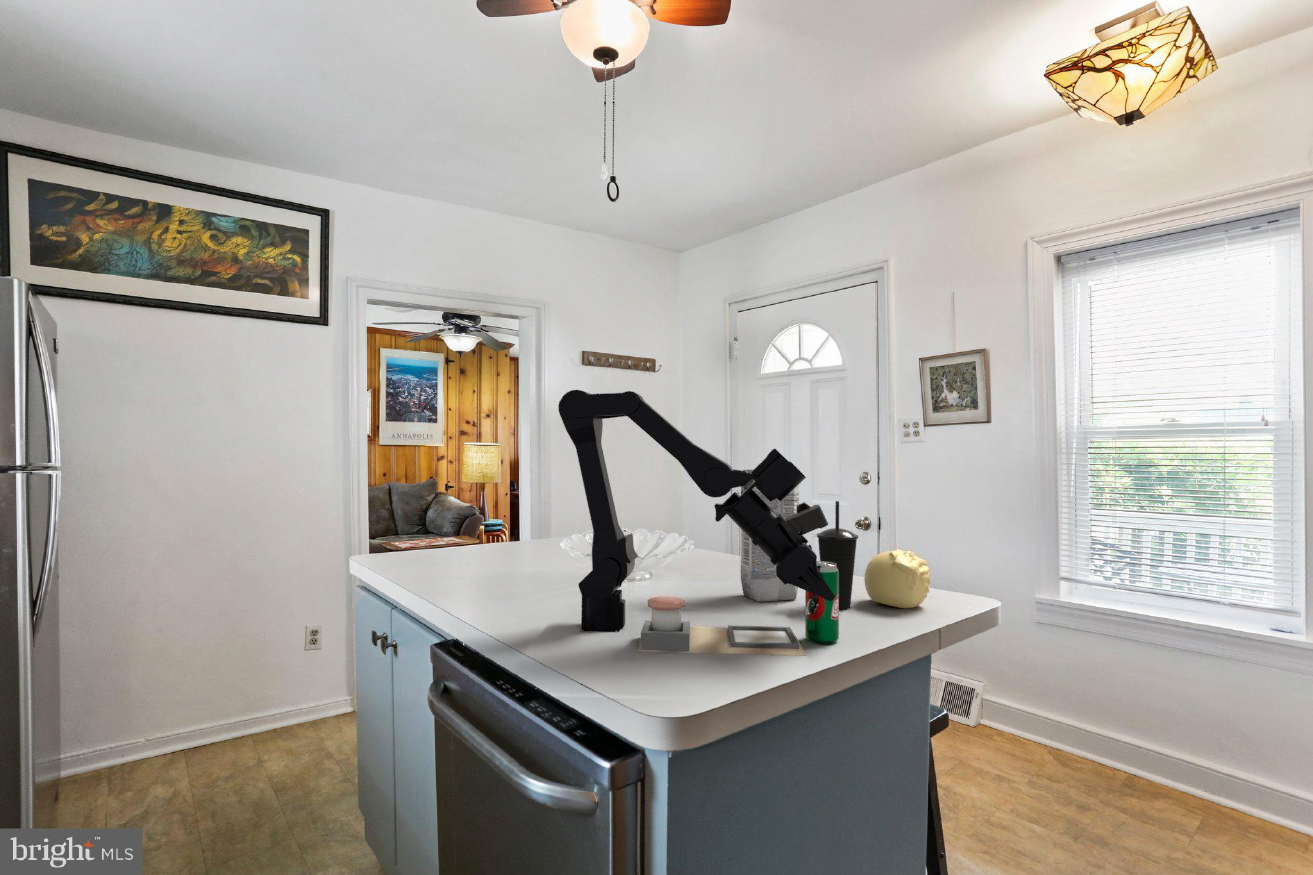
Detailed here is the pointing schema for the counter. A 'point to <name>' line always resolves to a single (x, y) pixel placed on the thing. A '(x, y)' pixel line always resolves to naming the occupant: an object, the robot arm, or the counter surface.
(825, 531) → the drinking cup
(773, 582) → the juice carton
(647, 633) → the button housing
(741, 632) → the board
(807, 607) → the soda can
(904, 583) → the sculpture
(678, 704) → the counter surface
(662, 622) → the button
